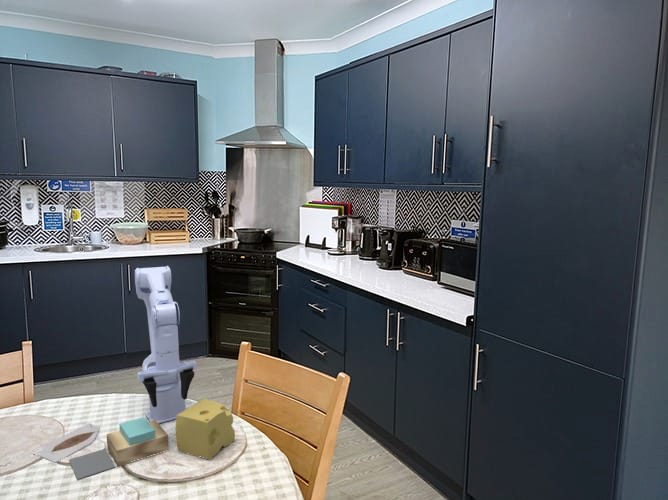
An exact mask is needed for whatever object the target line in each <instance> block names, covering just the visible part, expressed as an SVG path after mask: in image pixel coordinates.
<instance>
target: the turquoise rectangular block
mask: <svg viewBox="0 0 668 500" xmlns="http://www.w3.org/2000/svg"><path fill="white" fill-rule="evenodd" d="M148 422H149V421H148V420H147V419H146V418H145V416H143V417H139V418H136V419H135V418H134V419H132V420H129V421H124V422H121V423H119V424H118V425H119V430H120V432H121V434H122V435H123V437H124V438H125V440H126V441H127V443H128V444H129V446H131V445H134V444H137V443H141V442H144V441H147V440H150V439H154V438H155V430H154V429H153V427H152V426H151V425H150V424H149V423H148Z"/></svg>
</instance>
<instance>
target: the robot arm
mask: <svg viewBox="0 0 668 500" xmlns="http://www.w3.org/2000/svg"><path fill="white" fill-rule="evenodd" d="M134 284H135V292H136V295H137V298H138V299H139V300H142V301H143V302H144V305H145V307H146V315H147V324H148V325H147V326H148V333H149V335H148V336H149V342H150V343H149V344H150V352H151V354H149V355H148V356H147V357H146V358H145V359H144V360H143V363H142V370H141V371H138V372H137V381H138V382H140V383H142V385H143V388H144V389H146V391H147V393H148V401H149V403H148V404H149V412H146V413H145V416H146V418H147V419H148V420H149V422H150V421H154V420H156V422H157V423H158V424H159V425H160V424H163V423H167V422H169V421H174V420H176V417H177V414H179V413H181V412H183V411H184V410H186V409H187V407H186V400H187V399H188V393H189V389H190V386H191V383H192V381H193V379H194V377H195V371H196V370H197V369H198V364H197V362H196V361H195V360H190V361H181V362H180V351H179V350H180V349H179V348H180V347H179V346H180V345H179V328H178V327H179V326H178V325H180V322H181V321H180V319H181V313H180V307H179V305H178V302H176V301H174V300H173V296H172V293H171V289H172V288H171V287H172V286H171V285H172V270H171V268H170V266H169V265H165V266H157V267H142V268H141V267H136V269H135V270H134Z"/></svg>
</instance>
